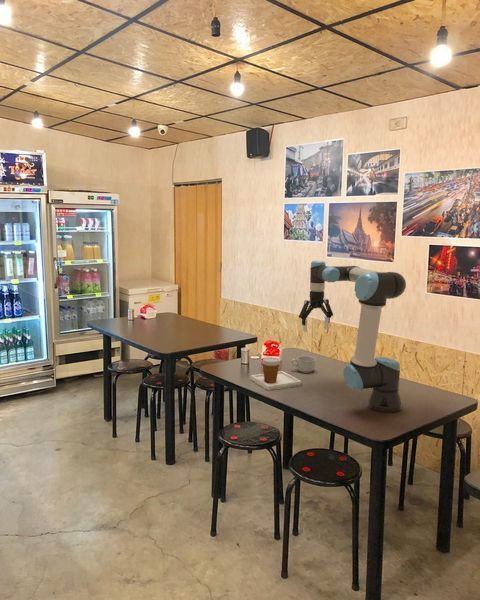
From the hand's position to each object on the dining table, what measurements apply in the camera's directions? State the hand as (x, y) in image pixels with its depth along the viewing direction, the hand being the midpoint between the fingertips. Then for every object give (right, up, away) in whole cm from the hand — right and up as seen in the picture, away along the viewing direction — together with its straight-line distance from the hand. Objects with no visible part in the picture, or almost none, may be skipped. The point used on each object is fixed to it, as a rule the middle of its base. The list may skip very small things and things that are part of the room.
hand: (315, 330), depth 268 cm
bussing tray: (-21, -28, +3) cm, 35 cm away
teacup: (-4, -25, +25) cm, 36 cm away
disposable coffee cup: (-24, -28, +1) cm, 36 cm away
